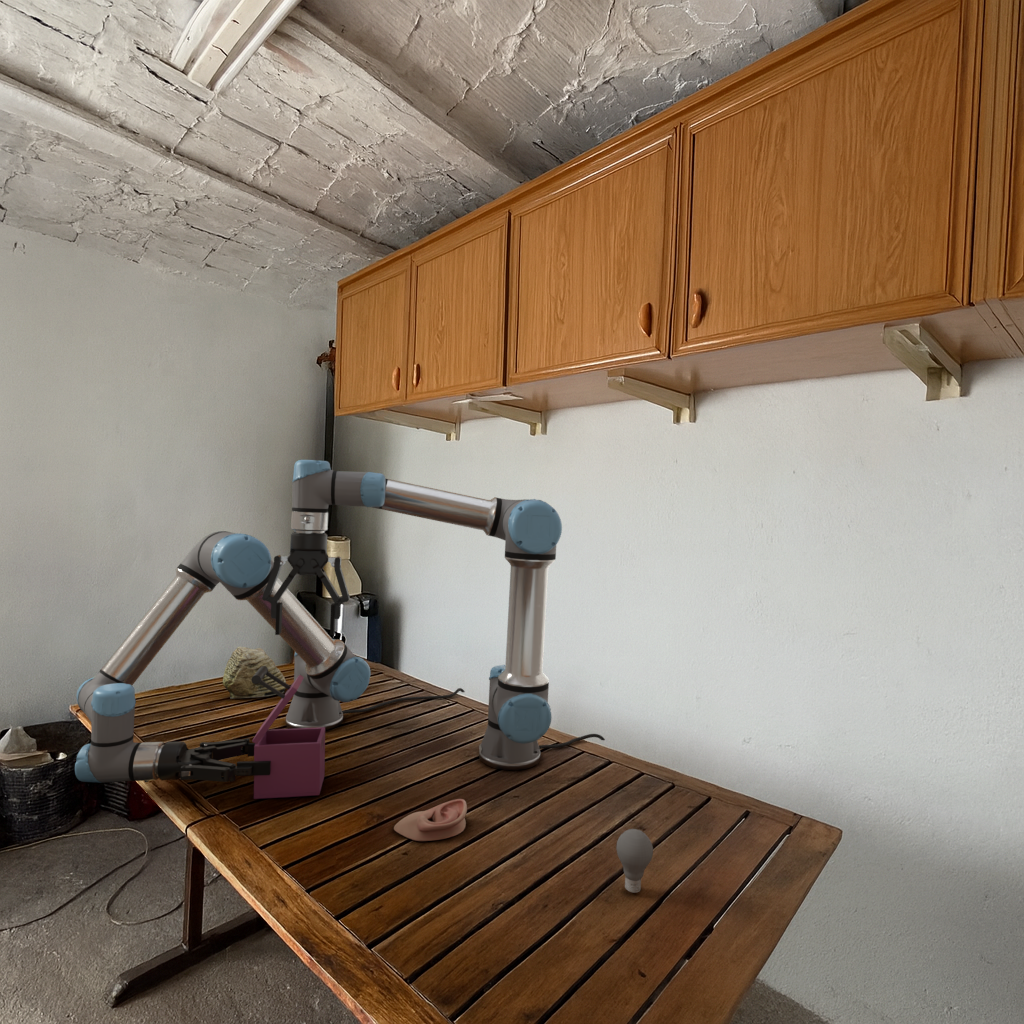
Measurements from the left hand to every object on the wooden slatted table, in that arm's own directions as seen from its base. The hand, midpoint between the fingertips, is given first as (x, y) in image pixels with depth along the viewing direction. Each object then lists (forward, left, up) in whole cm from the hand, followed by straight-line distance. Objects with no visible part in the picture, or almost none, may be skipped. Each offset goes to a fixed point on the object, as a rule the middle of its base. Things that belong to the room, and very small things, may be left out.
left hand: (274, 758), depth 137 cm
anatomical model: (-12, +36, -7) cm, 39 cm away
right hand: (-4, +4, +27) cm, 28 cm away
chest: (-3, +2, -6) cm, 7 cm away
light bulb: (-21, +75, -7) cm, 78 cm away
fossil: (-30, -61, -7) cm, 68 cm away
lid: (-1, +1, +10) cm, 11 cm away
